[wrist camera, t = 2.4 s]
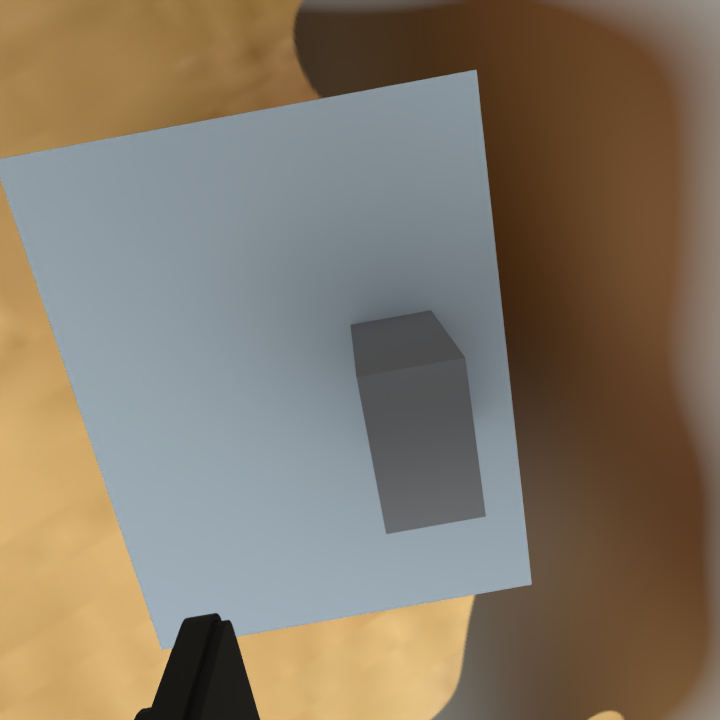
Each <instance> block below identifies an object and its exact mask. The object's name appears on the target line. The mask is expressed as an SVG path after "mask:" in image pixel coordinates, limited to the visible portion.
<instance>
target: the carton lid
mask: <svg viewBox="0 0 720 720" xmlns="http://www.w3.org/2000/svg"><path fill="white" fill-rule="evenodd" d="M482 127H483V126H482V118H481V108H480V98H479V89H478V80H477V70H472V71H467V72H462V73H457V74H451V75H446V76H440V77H435V78H429V79H424V80H419V81H413V82H408V83H403V84H398V85H392V86H387V87H381V88H376V89H371V90H366V91H360V92H354V93H349V94H344V95H339V96H333V97H328V98H322V99H317V100H312V101H306V102H301V103H296V104H290V105H285V106H280V107H274V108H269V109H263V110H258V111H253V112H247V113H242V114H237V115H231V116H226V117H221V118H215V119H210V120H205V121H199V122H194V123H189V124H183V125H178V126H173V127H167V128H162V129H156V130H151V131H146V132H140V133H135V134H130V135H124V136H119V137H114V138H108V139H103V140H98V141H92V142H87V143H82V144H76V145H71V146H66V147H60V148H55V149H49V150H44V151H39V152H33V153H28V154H23V155H17V156H12V157H7V158H1V159H0V179H1V182H2V185H3V188H4V191H5V194H6V197H7V199H8V202H9V205H10V208H11V211H12V214H13V217H14V220H15V223H16V226H17V229H18V232H19V235H20V237H21V240H22V243H23V246H24V249H25V252H26V255H27V258H28V261H29V264H30V267H31V270H32V272H33V275H34V278H35V281H36V284H37V287H38V290H39V293H40V296H41V299H42V302H43V305H44V307H45V310H46V313H47V316H48V319H49V322H50V325H51V328H52V331H53V334H54V337H55V340H56V343H57V345H58V348H59V351H60V354H61V357H62V360H63V363H64V366H65V369H66V372H67V375H68V378H69V380H70V383H71V386H72V389H73V392H74V395H75V398H76V401H77V404H78V407H79V410H80V413H81V415H82V418H83V421H84V424H85V427H86V430H87V433H88V436H89V439H90V442H91V445H92V448H93V451H94V453H95V456H96V459H97V462H98V465H99V468H100V471H101V474H102V477H103V480H104V483H105V486H106V488H107V491H108V494H109V497H110V500H111V503H112V506H113V509H114V512H115V515H116V518H117V521H118V523H119V526H120V529H121V532H122V535H123V538H124V541H125V544H126V547H127V550H128V553H129V556H130V559H131V561H132V564H133V567H134V570H135V573H136V576H137V579H138V582H139V585H140V588H141V591H142V594H143V596H144V599H145V602H146V605H147V608H148V611H149V614H150V617H151V620H152V623H153V626H154V629H155V632H156V634H157V637H158V640H159V643H160V646H161V649H162V650H163V649H169V648H173V646H174V643H175V641H176V638H177V635H178V632H179V629H180V627H181V624H182V622H183V620H184V619H186V618H189V617H195V616H201V615H207V614H213V613H218V614H219V616H220V617H221V620H222V621H224V620H230V621H231V623H232V625H233V628H234V632H235V635H236V637H237V636H243V635H248V634H254V633H260V632H265V631H271V630H277V629H282V628H288V627H294V626H299V625H305V624H310V623H316V622H322V621H327V620H333V619H339V618H344V617H350V616H356V615H361V614H367V613H373V612H378V611H384V610H390V609H395V608H401V607H407V606H412V605H418V604H424V603H429V602H435V601H441V600H446V599H452V598H458V597H463V596H469V595H474V594H480V593H485V592H491V591H497V590H503V589H508V588H514V587H519V586H525V585H530V584H532V583H531V573H530V564H529V555H528V545H527V536H526V527H525V518H524V508H523V499H522V489H521V481H520V471H519V462H518V453H517V444H516V434H515V424H514V415H513V407H512V397H511V387H510V378H509V368H508V360H507V350H506V341H505V331H504V322H503V314H502V304H501V294H500V285H499V275H498V266H497V258H496V247H495V238H494V229H493V219H492V211H491V201H490V192H489V183H488V173H487V164H486V154H485V145H484V136H483V128H482Z"/></svg>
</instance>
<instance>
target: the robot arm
mask: <svg viewBox="0 0 720 720" xmlns="http://www.w3.org/2000/svg"><path fill="white" fill-rule="evenodd" d="M134 720H260V718H259V715H258V711H257V708H256V704H255V701H254V697H253V694H252V690H251V687H250V684H249V680H248V677H247V673H246V670H245V666H244V663H243V659H242V656H241V652H240V649H239V646H238V642H237V639H236V635H235V632H234V628H233V625H232V623H231V621H230V620H224V621H222V620H221V617H220V616H219V614H218V613H213V614H207V615H201V616H195V617H189V618H186V619H184V620H183V622H182V624H181V627H180V629H179V632H178V635H177V638H176V641H175V643H174V646H173V649H172V652H171V654H170V657H169V660H168V663H167V665H166V668H165V671H164V674H163V676H162V679H161V682H160V685H159V688H158V690H157V693H156V696H155V699H154V701H153V704H152V707H151V708H145V709H142V710H140V711H139V712H138V713H137V715H136V717H135V719H134Z"/></svg>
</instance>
